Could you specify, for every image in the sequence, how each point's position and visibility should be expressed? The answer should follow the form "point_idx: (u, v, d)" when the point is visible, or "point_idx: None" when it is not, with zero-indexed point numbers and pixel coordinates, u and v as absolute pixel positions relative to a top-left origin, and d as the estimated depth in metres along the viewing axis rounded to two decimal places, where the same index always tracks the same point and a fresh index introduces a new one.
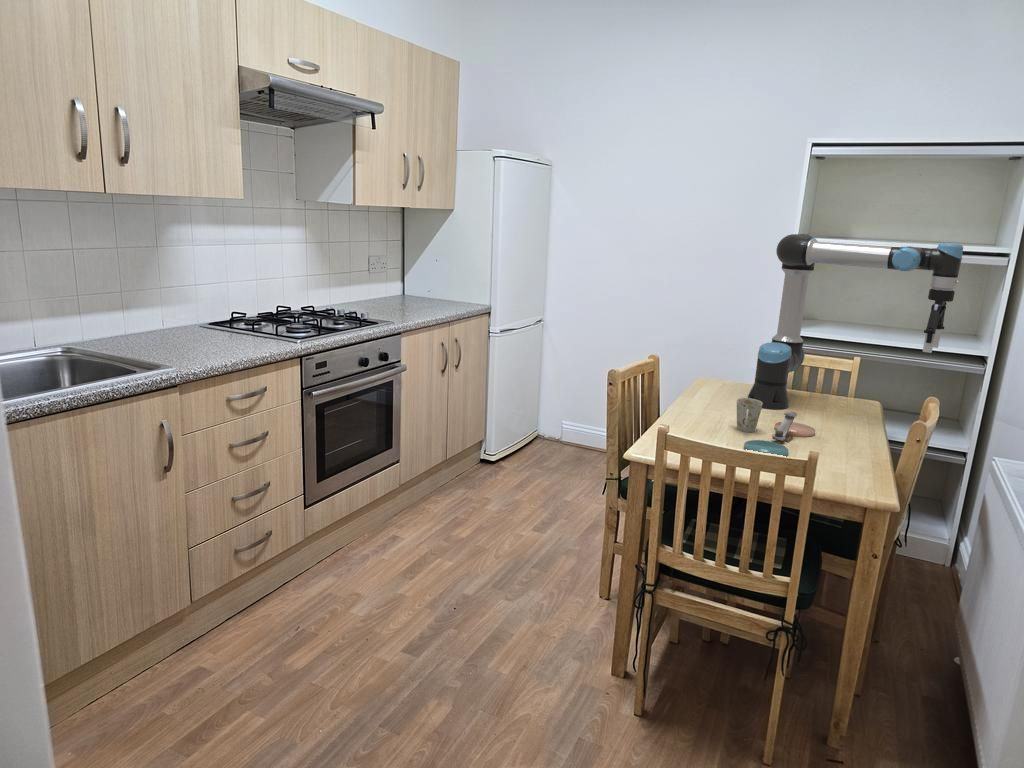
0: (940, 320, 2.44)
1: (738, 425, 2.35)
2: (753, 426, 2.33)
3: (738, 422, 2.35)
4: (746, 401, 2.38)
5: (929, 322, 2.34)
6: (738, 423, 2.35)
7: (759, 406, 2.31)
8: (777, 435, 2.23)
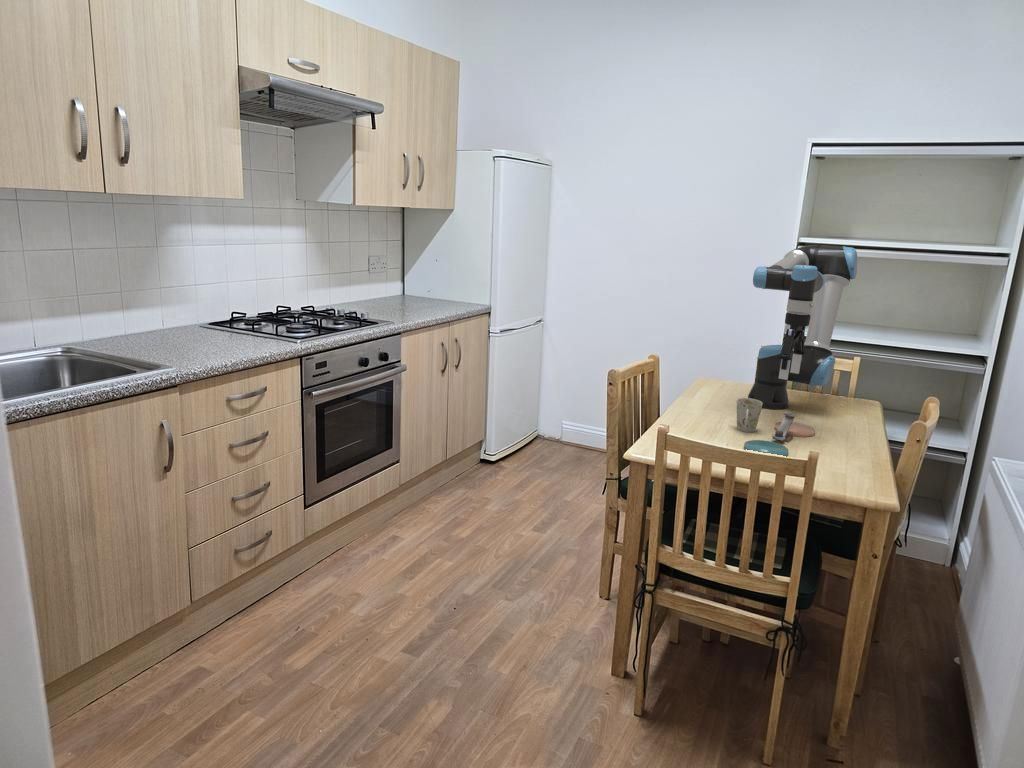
0: (799, 345, 2.33)
1: (738, 425, 2.35)
2: (753, 426, 2.33)
3: (738, 422, 2.35)
4: (746, 401, 2.38)
5: (783, 348, 2.23)
6: (738, 423, 2.35)
7: (759, 406, 2.31)
8: (777, 435, 2.23)
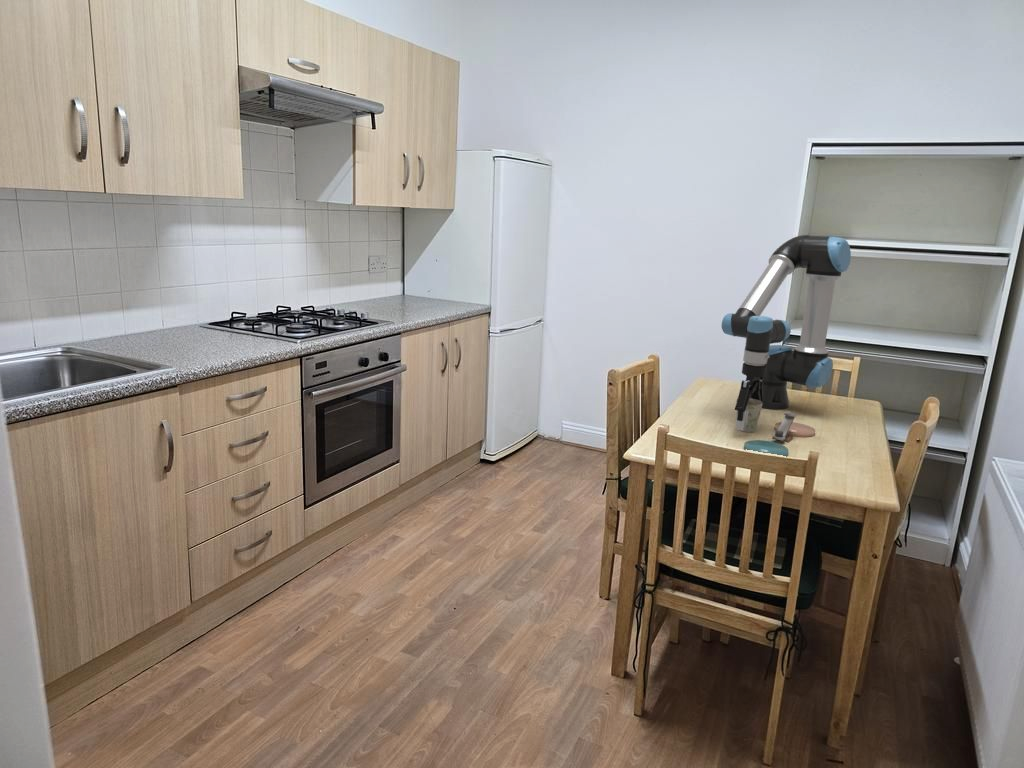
0: (757, 394, 2.34)
1: None
2: (753, 426, 2.33)
3: None
4: None
5: (738, 400, 2.25)
6: None
7: (759, 406, 2.30)
8: (777, 435, 2.23)
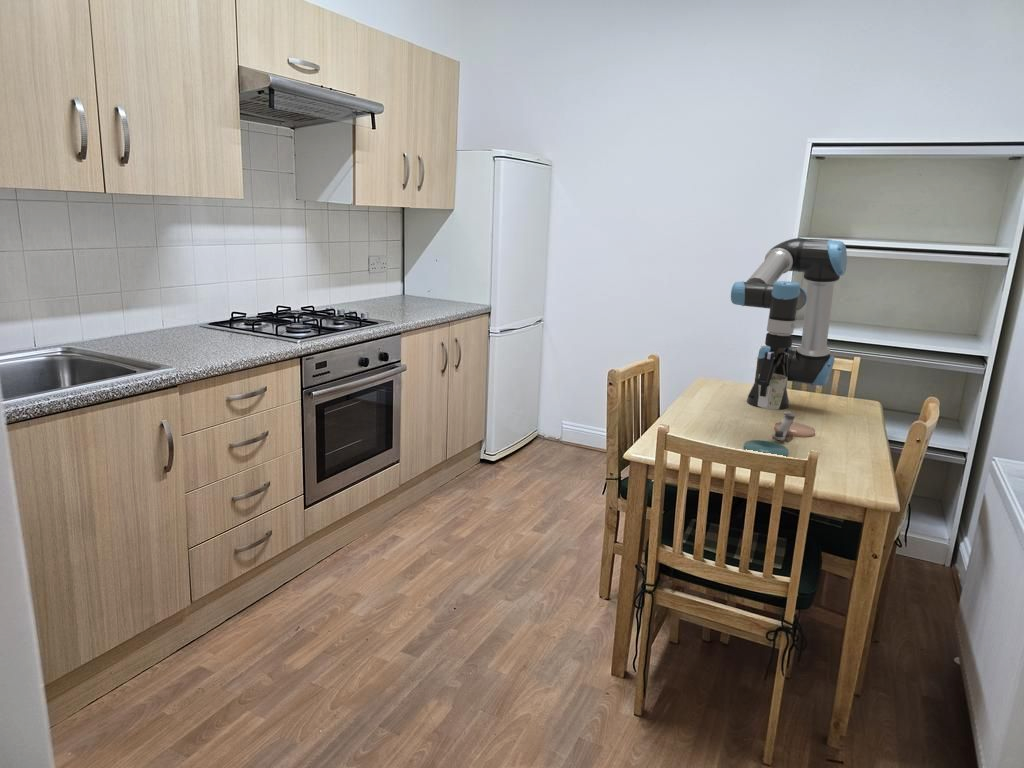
0: (781, 369, 2.13)
1: None
2: (777, 403, 2.12)
3: None
4: None
5: (761, 373, 2.04)
6: None
7: (784, 381, 2.10)
8: (777, 435, 2.23)
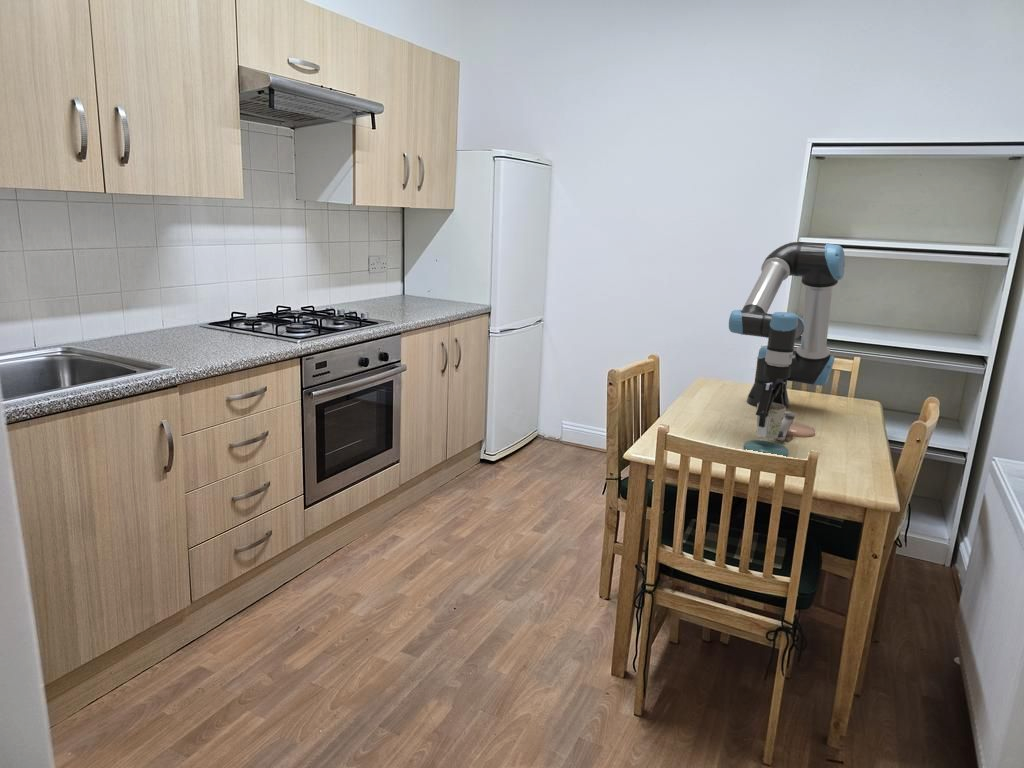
0: (779, 398, 2.14)
1: None
2: (775, 432, 2.13)
3: None
4: None
5: (760, 404, 2.05)
6: None
7: (782, 411, 2.11)
8: None
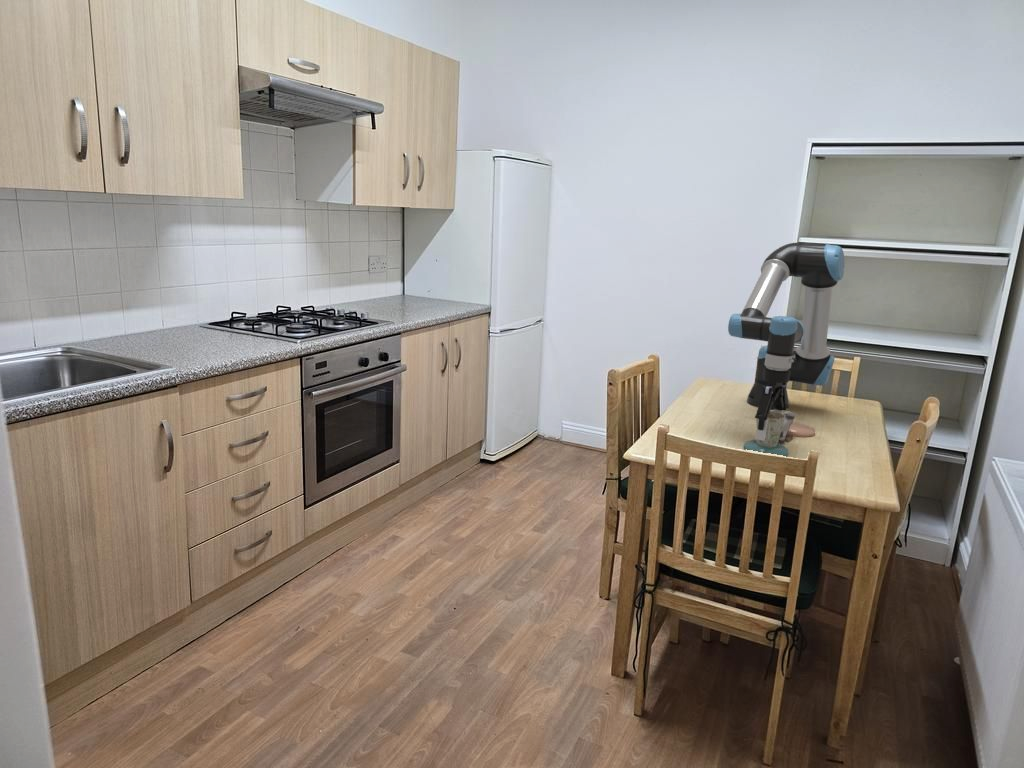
0: (779, 401, 2.15)
1: (758, 440, 2.16)
2: (775, 441, 2.14)
3: None
4: None
5: (759, 407, 2.05)
6: None
7: (781, 420, 2.12)
8: None
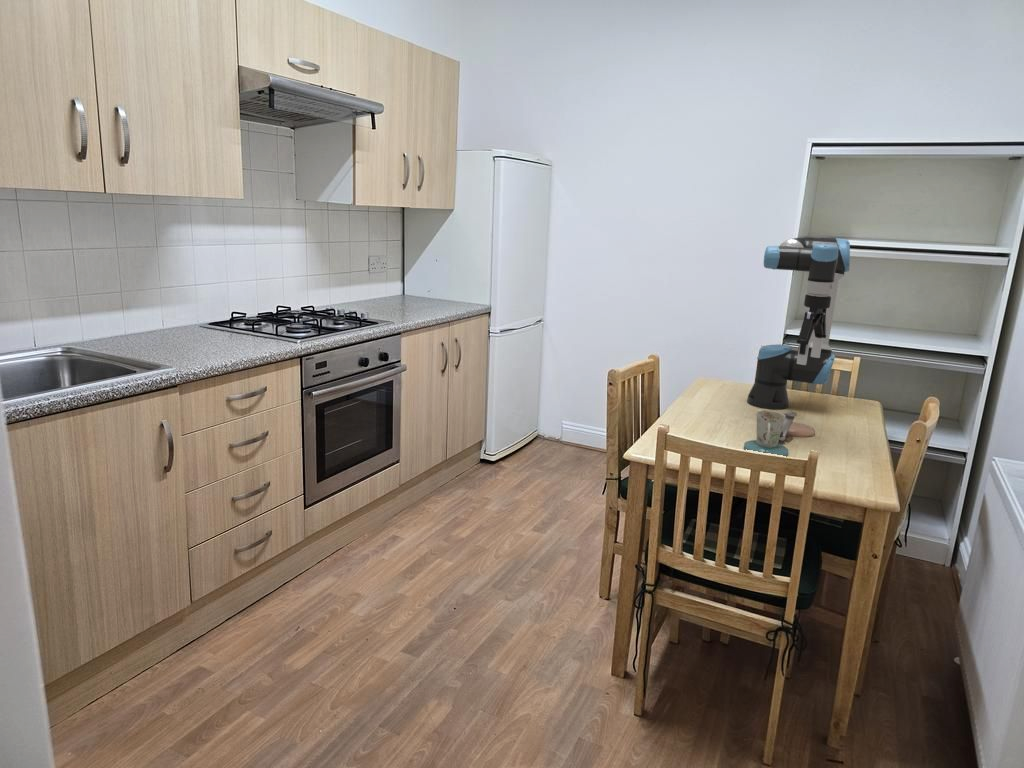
0: (820, 328, 2.22)
1: (758, 440, 2.16)
2: (775, 441, 2.14)
3: (758, 437, 2.16)
4: (766, 414, 2.19)
5: (801, 332, 2.13)
6: (758, 438, 2.16)
7: (781, 420, 2.12)
8: None
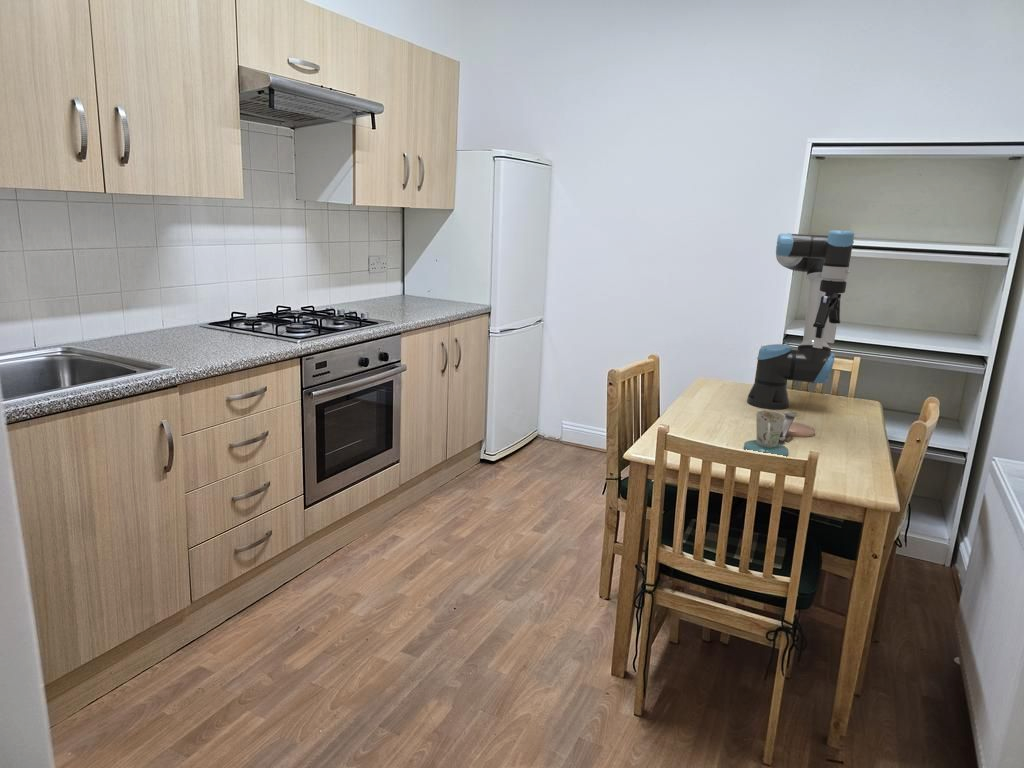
0: (834, 313, 2.27)
1: (758, 440, 2.16)
2: (775, 441, 2.14)
3: (758, 437, 2.16)
4: (766, 414, 2.19)
5: (818, 315, 2.17)
6: (758, 438, 2.16)
7: (781, 420, 2.12)
8: None
